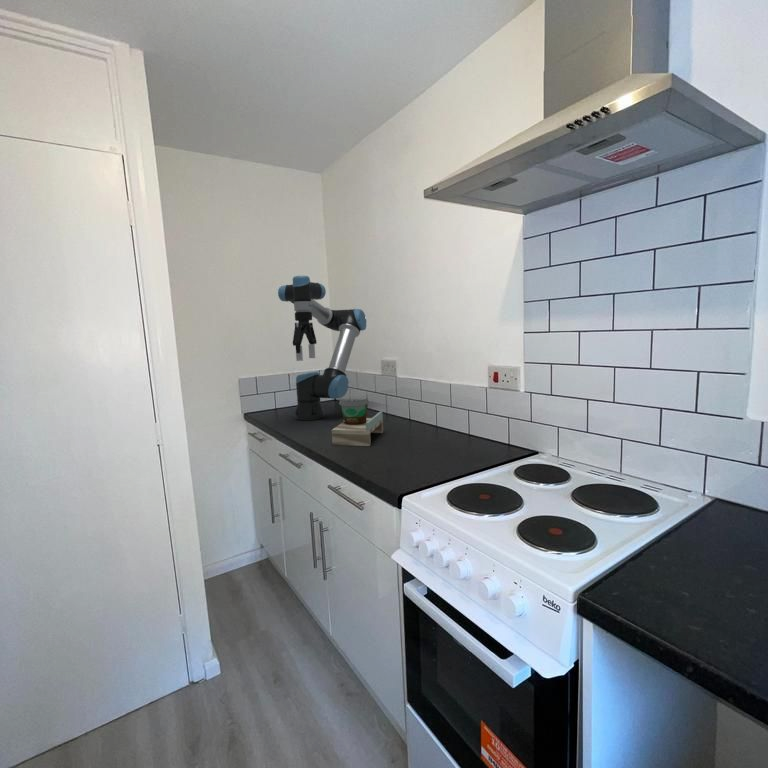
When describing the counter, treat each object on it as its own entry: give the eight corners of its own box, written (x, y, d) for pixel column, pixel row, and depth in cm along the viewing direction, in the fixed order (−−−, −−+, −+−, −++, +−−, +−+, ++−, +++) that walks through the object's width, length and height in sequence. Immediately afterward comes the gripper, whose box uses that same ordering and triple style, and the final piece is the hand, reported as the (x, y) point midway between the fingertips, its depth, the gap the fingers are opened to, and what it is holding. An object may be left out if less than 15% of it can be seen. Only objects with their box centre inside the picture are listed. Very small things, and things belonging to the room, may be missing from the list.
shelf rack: (350, 431, 184) (349, 411, 183) (383, 431, 180) (382, 411, 179) (332, 445, 163) (331, 422, 162) (369, 446, 159) (368, 423, 158)
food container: (338, 426, 168) (337, 401, 167) (340, 422, 174) (339, 399, 173) (369, 424, 168) (368, 400, 167) (369, 421, 174) (368, 397, 173)
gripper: (298, 310, 173) (302, 361, 176) (321, 312, 197) (324, 357, 200) (282, 311, 175) (285, 361, 178) (307, 312, 199) (309, 357, 202)
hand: (306, 359), depth 189 cm, fingers open, 13 cm apart
